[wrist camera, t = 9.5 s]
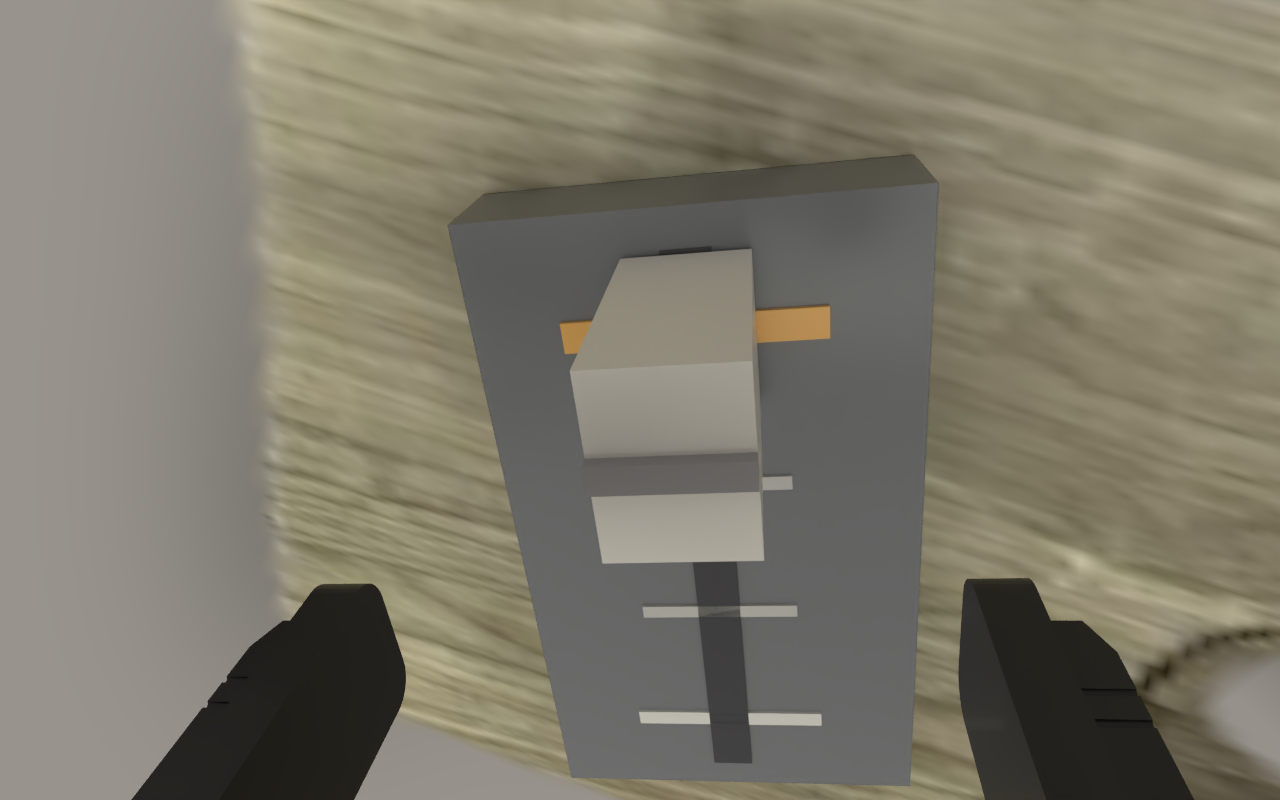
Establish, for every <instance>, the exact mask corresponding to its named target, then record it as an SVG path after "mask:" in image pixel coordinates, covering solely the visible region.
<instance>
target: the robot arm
mask: <svg viewBox="0 0 1280 800" xmlns="http://www.w3.org/2000/svg"><path fill="white" fill-rule="evenodd" d="M405 684H406V672H405V665H404V661H403V658H402V655H401V652H400V649H399V646H398V643H397V640H396V637H395V634H394V631H393V628H392V625H391V622H390V619H389V616H388V613H387V610H386V607H385V604H384V601H383V598H382V595H381V593H380V591H379V589H378V588H377V587H376V586H375V585H373V584H322V585H319V586H317V587H316V588H315V589H314V590H313V591H312V592H311V593H310V595H309V596H308V597H307V599H306V600H305V601H304V603H303V604H302V606H301V607H300V608H299V610H298V611H297V612H296V614H295V615H294V616H293V618H292V619H291V620H290V621H282V622H281V623H280V624H278V625H277V626H276V627H274V628H273V629H272V630H271V631H269V632H268V633H267V634H265V635H264V636H263V637H262V638H260V639H259V640H258V641H256V642H255V643H254V644H253V645H251V646H250V647H249V649H248V650H247V651H246V652H245V654H244V655H243V656H242V658H241V659H240V660H239V661H238V663H237V664H236V665H235V667H234V668H233V669H232V670H231V672H230V673H229V674H228V676H227V681H226V683H221V685H220V686H219V687H218V689H217V690H216V691H215V692H214V694H213V695H212V696H211V698H210V699H209V700H208V706H207V708H202V709H201V711H200V712H199V713H198V714H197V716H196V717H195V718H194V720H193V721H192V722H191V723H190V725H189V726H188V727H187V729H186V730H185V731H184V733H183V734H182V735H181V736H180V738H179V739H178V741H177V742H176V743H175V744H174V745H173V747H172V748H171V749H170V751H169V752H168V753H167V755H166V756H165V757H164V758H163V760H162V761H161V762H160V764H159V765H158V766H157V768H156V769H155V770H154V771H153V773H152V774H151V775H150V777H149V778H148V779H147V780H146V782H145V783H144V784H143V786H142V787H141V788H140V789H139V791H138V792H137V793H136V795H135V796H134V797H133V799H132V800H354V799H355V797H356V795H357V793H358V791H359V789H360V787H361V785H362V782H363V781H364V779H365V777H366V775H367V773H368V771H369V769H370V767H371V765H372V763H373V761H374V759H375V757H376V755H377V753H378V751H379V749H380V747H381V745H382V743H383V741H384V739H385V737H386V735H387V733H388V731H389V729H390V727H391V725H392V723H393V721H394V719H395V717H396V715H397V713H398V711H399V709H400V707H401V704H402V701H403V697H404V692H405ZM959 691H960V700H961V707H962V712H963V717H964V722H965V725H966V729H967V733H968V737H969V740H970V744H971V748H972V752H973V755H974V759H975V763H976V767H977V770H978V774H979V778H980V782H981V785H982V789H983V793H984V797H985V800H1194V799H1193V797H1192V795H1191V793H1190V791H1189V789H1188V787H1187V785H1186V783H1185V781H1184V779H1183V777H1182V776H1181V774H1180V772H1179V770H1178V768H1177V766H1176V764H1175V762H1174V760H1173V758H1172V756H1171V754H1170V753H1169V751H1168V749H1167V747H1166V745H1165V743H1164V741H1163V739H1162V737H1161V735H1160V733H1159V731H1158V730H1157V728H1154V727H1153V723H1152V718H1151V716H1150V714H1149V712H1148V710H1147V708H1146V706H1145V705H1144V703H1143V701H1142V699H1141V697H1140V696H1137V693H1136V687H1135V685H1134V683H1133V682H1132V680H1131V678H1130V676H1129V674H1128V672H1127V670H1126V668H1125V666H1124V664H1123V662H1122V660H1121V659H1120V657H1119V655H1118V653H1117V651H1115V650H1114V649H1113V648H1112V647H1111V646H1110V645H1109V644H1108V643H1106V642H1105V641H1104V640H1103V639H1102V638H1101V637H1100V636H1099V635H1097V634H1096V633H1095V632H1094V631H1093V630H1092V629H1091V628H1090V627H1089V626H1087V625H1086V624H1085V623H1084V622H1083V621H1051V620H1050V618H1049V616H1048V613H1047V611H1046V609H1045V606H1044V604H1043V602H1042V600H1041V597H1040V595H1039V593H1038V591H1037V588H1036V586H1035V584H1034V583H1033V581H1032V580H1031V579H1029V578H1005V579H967V580H966V581H965V584H964V591H963V605H962V621H961V638H960V654H959Z"/></svg>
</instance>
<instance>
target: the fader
mask: <svg viewBox="0 0 1280 800" xmlns="http://www.w3.org/2000/svg"><path fill="white" fill-rule="evenodd" d="M570 376H571V382H572V388H573V394H574V399H575V405H576V411H577V417H578V423H579V429H580V435H581V440H582V446H583V452H584V458H585V459H584V462H583V465H582V474H583V479H584V485H585V491H586V497H591V499H592V505H593V511H594V517H595V523H596V528H597V534H598V540H599V546H600V552H601V558H602V564H609V563H666V562H724V561H764V530H763V487H762V444H761V404H760V386H759V368H758V350H757V333H756V315H755V297H754V279H753V261H752V249H740V250H727V251H714V252H701V253H688V254H675V255H662V256H649V257H636V258H623V259H620V260H619V263H618V265H617V267H616V269H615V271H614V274H613V276H612V278H611V280H610V283H609V285H608V287H607V289H606V291H605V294H604V296H603V298H602V300H601V303H600V305H599V307H598V309H597V311H596V314H595V316H594V318H593V320H592V323H591V325H590V327H589V329H588V331H587V334H586V336H585V338H584V340H583V343H582V345H581V347H580V349H579V352H578V354H577V356H576V358H575V360H574V363H573V365H572V367H571V369H570Z"/></svg>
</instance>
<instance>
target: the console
mask: <svg viewBox="0 0 1280 800" xmlns="http://www.w3.org/2000/svg"><path fill="white" fill-rule="evenodd" d="M938 186H939V183H938V181H937V180H936V179H935V178H934V177H933V176H932V175H931V173H930V172H929V171H928V170H927V169H926V168H925V167H924V166H923V164H922V163H921V162H920V161H919V160H918V159H917V158H916V156H915V155H905V156H894V157H883V158H873V159H862V160H851V161H840V162H829V163H818V164H807V165H796V166H786V167H775V168H764V169H753V170H742V171H731V172H720V173H709V174H699V175H688V176H677V177H666V178H655V179H644V180H633V181H622V182H612V183H601V184H590V185H579V186H568V187H557V188H546V189H535V190H524V191H514V192H503V193H492V194H484V195H483V196H481V197H480V198H479V199H478V200H477V201H476V202H474V203H473V204H472V205H471V206H470V207H468V208H467V209H466V210H465V211H464V212H462V213H461V214H460V215H459V216H458V217H457V218H455V219H454V220H453V221H452V222H451V223H449V224H448V229H449V234H450V238H451V243H452V247H453V252H454V256H455V261H456V265H457V269H458V274H459V278H460V283H461V287H462V292H463V296H464V301H465V305H466V310H467V314H468V318H469V323H470V327H471V332H472V336H473V341H474V345H475V350H476V354H477V358H478V363H479V367H480V372H481V376H482V381H483V385H484V390H485V394H486V399H487V403H488V407H489V412H490V416H491V421H492V425H493V430H494V434H495V439H496V443H497V447H498V452H499V456H500V461H501V465H502V470H503V474H504V479H505V483H506V487H507V492H508V496H509V501H510V505H511V510H512V514H513V519H514V523H515V528H516V532H517V536H518V541H519V545H520V550H521V554H522V559H523V563H524V568H525V572H526V576H527V581H528V585H529V590H530V594H531V599H532V603H533V608H534V612H535V617H536V621H537V625H538V630H539V634H540V639H541V643H542V648H543V652H544V657H545V661H546V665H547V670H548V674H549V679H550V683H551V688H552V692H553V697H554V701H555V706H556V710H557V714H558V719H559V723H560V728H561V732H562V737H563V741H564V746H565V750H566V754H567V759H568V763H569V768H570V772H571V777H572V778H612V779H652V780H692V781H733V782H773V783H813V784H853V785H893V786H910V773H911V752H912V731H913V711H914V690H915V669H916V648H917V627H918V606H919V585H920V564H921V543H922V522H923V501H924V480H925V459H926V438H927V417H928V396H929V375H930V354H931V333H932V312H933V291H934V270H935V249H936V228H937V207H938ZM740 249H752V261H753V279H754V297H755V315H756V333H757V350H758V368H759V386H760V404H761V444H762V487H763V530H764V561H724V562H666V563H609V564H602V558H601V552H600V546H599V540H598V534H597V528H596V523H595V517H594V511H593V505H592V499H591V497H586V491H585V485H584V479H583V474H582V465H583V462H584V459H585V458H584V452H583V446H582V440H581V435H580V429H579V423H578V417H577V411H576V405H575V399H574V394H573V388H572V382H571V376H570V369H571V367H572V365H573V363H574V360H575V358H576V356H577V354H578V352H579V349H580V347H581V345H582V343H583V340H584V338H585V336H586V334H587V331H588V329H589V327H590V325H591V323H592V320H593V318H594V316H595V314H596V311H597V309H598V307H599V305H600V303H601V300H602V298H603V296H604V294H605V291H606V289H607V287H608V285H609V283H610V280H611V278H612V276H613V274H614V271H615V269H616V267H617V265H618V263H619V260H620V259H623V258H636V257H649V256H662V255H675V254H688V253H701V252H714V251H727V250H740Z"/></svg>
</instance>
